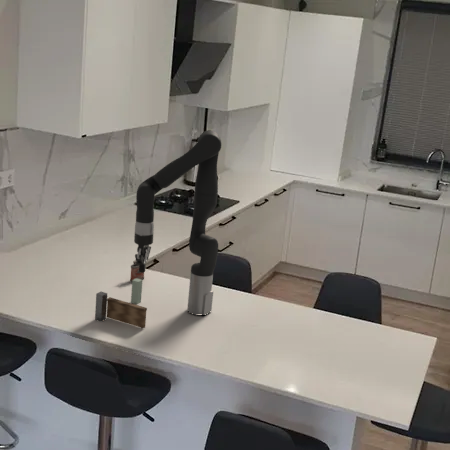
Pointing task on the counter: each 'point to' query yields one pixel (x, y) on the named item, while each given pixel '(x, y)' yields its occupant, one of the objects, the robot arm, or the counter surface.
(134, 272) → the lighter
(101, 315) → the hinge post
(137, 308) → the gate
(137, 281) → the latch post
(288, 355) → the counter surface
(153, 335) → the counter surface
